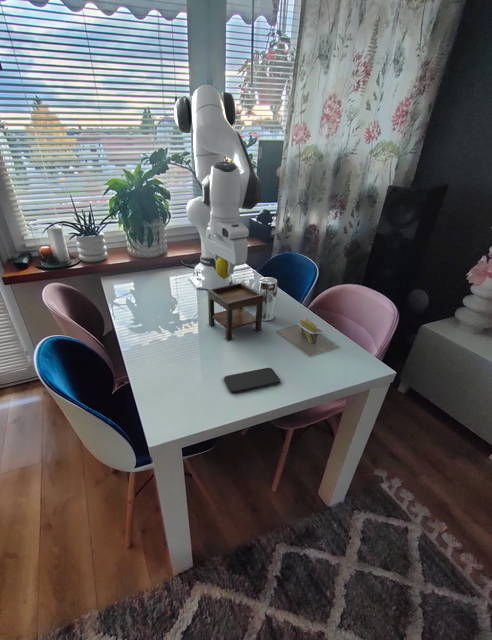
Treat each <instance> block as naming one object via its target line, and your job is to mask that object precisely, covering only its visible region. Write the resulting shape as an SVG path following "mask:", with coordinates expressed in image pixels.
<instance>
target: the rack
mask: <svg viewBox="0 0 492 640" xmlns="http://www.w3.org/2000/svg"><path fill="white" fill-rule="evenodd" d="M215 303H216V304H218V305H219V306H220V307H221V308H223V309H224V310H223V311H219V312H215ZM207 304H208V306H207V307H208V325H209V326H210V327H214V326H215V323H216V322H217V323H218V324H220V325H221V327H223V328H224V329H225V340H227V342H229V341H233V330H236V329H239V328H240V329H241V328H243V327H247V326H251V325H253V324H255V325H254V331H255V332H257V333H258V332H261V331H262V322H263V320H262V309H263V294H261V293H259V292H257V291H255V290H254V289H252V288H251V287H250V286H248V285H247V284H243V283H239V282H237V283H233V284H229V285H227V286H223V287H218V288H214V289H207ZM254 305H255V306H256V307H255V315H253V314H252V313H250V312H249V311H247V310H246V309H244V308H247V307H250V306H254ZM215 321H216V322H215Z"/></svg>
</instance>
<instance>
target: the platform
mask: <svg viewBox="0 0 492 640" xmlns="http://www.w3.org/2000/svg"><path fill="white" fill-rule="evenodd" d="M297 325H298V326H294V327H290V328H287V329H283V330H279V331H277V333H278V334H280V335H281V336H282V337H284V339H286V340H287V341H289V342H290V343H291V344H293V345H294V346H295V347H296V348H298V349H300V350H301V352H304V353H305V354H306V355H308V356H309V357H311V356H315V355H317V354H320V353H324V352H327V351H330V350H333V349H336V348H338V346H337V345H336V344H334V343H332V342H331V341H330V340H328V339H326V338H325V337H324V336H322V335H321V334H323V329H320V328H318V325H317V324H316V323H314V322H312V321H311V320H309V319H308V318H305V319H300V320H299V322H298V324H297Z"/></svg>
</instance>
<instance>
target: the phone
mask: <svg viewBox="0 0 492 640" xmlns="http://www.w3.org/2000/svg"><path fill="white" fill-rule="evenodd" d="M223 381H224V382H225V385H226V386H227V389H228V391H229V392H230V393H233V394H236V393H240V392H246V391H250V390H254V389H259V388H264V387H268V386H269V387H270V386H274V385H278V384H280V383H281V379H280V377H279V376H278V374H277V373H276V372H275V370H274V369H273V368H272V367H264V368H258V369H254V370H248V371H244V372H239V373H234V374H228V375H226V376H224V378H223Z"/></svg>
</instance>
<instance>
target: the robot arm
mask: <svg viewBox="0 0 492 640" xmlns="http://www.w3.org/2000/svg"><path fill="white" fill-rule="evenodd" d="M237 114H238V111H237V103H236V100H235V97H234V96H233V94H232V93H230V92H226V91H221V92H219V91H218V89H217V88H216V87H215V86H213V85H210V84H202V85H200V86H198V87H197V88H196V89H195V91H194V92H193V95H189V96H187V95H183V96H181V97H179V98H178V99H177V100H176V102H175V104H174V112H173V117H174V120H175V123H176V126H177V127H178V130H179V131H180V132H181V133H184V134H190V133H193V137H192V139H193V142H192V143H193V145H192V147H193V158H194V159H193V160H194V168H195V176H196V180H197V181H198V182H199V183H200V184H201V196H200V195H199V196H196V197H195V198H193V199H190V200H189V201H188V202H187V204H186V208H185V209H186V210H185V214H186V217H187V219H188V221H189V222H190V224H192V225H193V226H194V227H195V228H196V230H197V232H198V234H199V237H200V243H201V244H200V246H201V247H200V248H201V254H200V255H199V257H200V260H199V263H198V264H197V265H196V266H195V265H190V264H187V263H184V261H183V259H182V260H181V261H180V263H181V264H182V265H183V266H185V267H187V268H193V271H192V275H191V276H189V280H190V281H191V283H192V284H193V285H194V287H195V288H196V289H198V290H209V289H214V288H218V287H223V286H227V285H230V284H231V283H232V278H230V277H231V276H232V275H234V269H235V267H236V266H243V265H245V264H246V263H247V260H248V252H249V251H248V250H249V249H248V247H249V243H248V239H247V238H248V237H249V236H250V235H249V234H250V230H249V228H248V227H247V226H246V225H245V224H244V223H243V221H242V220H241V213H240V209H241V210H253V209H254V208H255V207H256V206H257V205H258V204H259V203H260V201H261V200H262V193H263V188H262V187H263V186H262V183H261V179H260V178H259V176H258V174H257V172H256V170H255V168H254V166H253V163H252V161H251V158H250V155H249V152H248V150H247V148H246V144H245V142H244V140H243V137H242V135H241V133H240V132H239V131H237V130H236V129H235V128H234V127H233V126H234V125H235V123H236V118H237ZM223 157H226V158H229V159H230V160H231V161H232V162H229V161H223ZM219 257H221V258H223V259H225V260H226V261H228V264H229V266H228V268H226V273H227V274H228V275H230V276H228V277H226V278H225V279H223V278H222V277H220V276H219V275H218V274H217V272H216V262H217V259H218V258H219Z"/></svg>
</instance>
